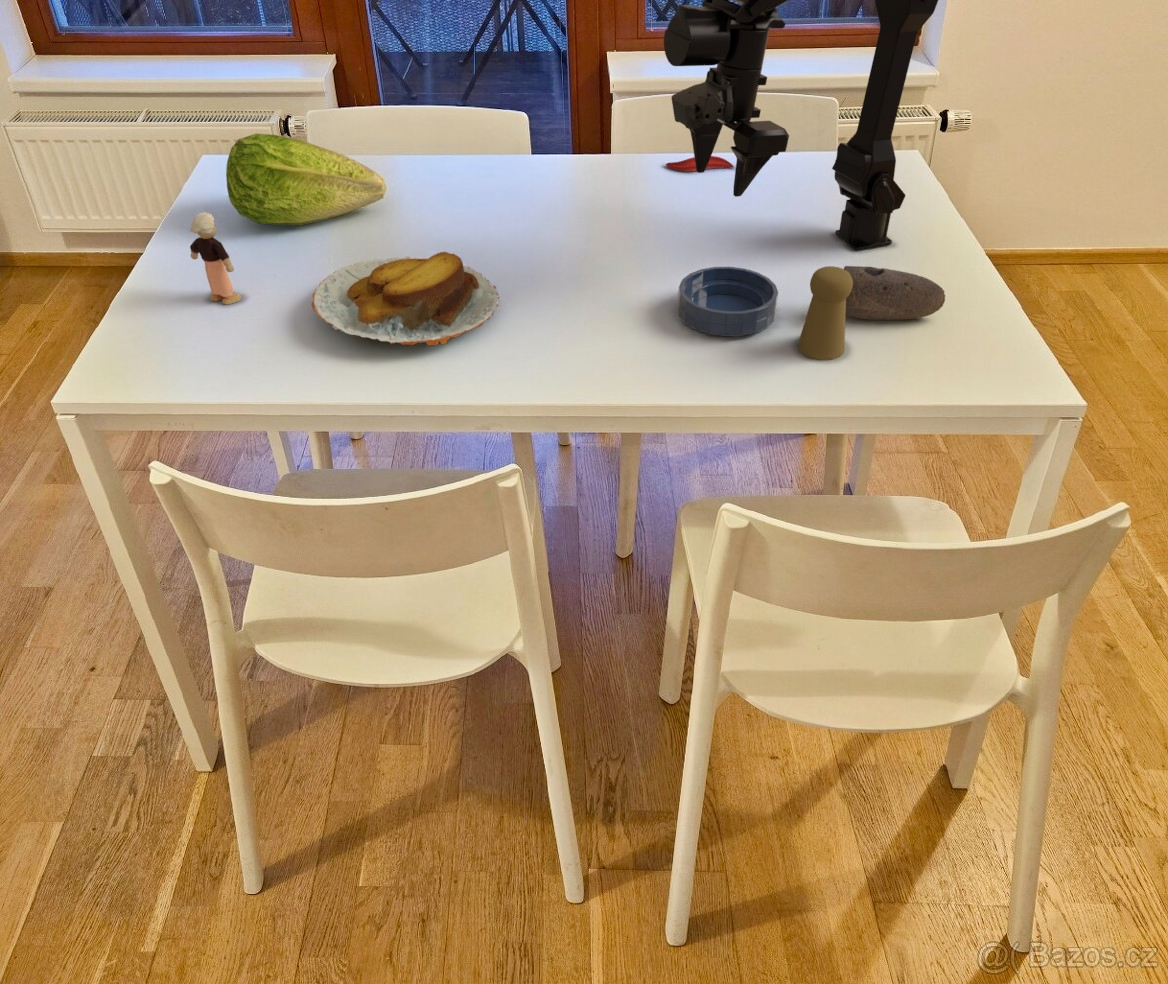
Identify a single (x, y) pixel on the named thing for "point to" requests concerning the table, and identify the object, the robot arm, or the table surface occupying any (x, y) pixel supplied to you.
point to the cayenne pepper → (691, 166)
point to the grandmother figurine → (213, 259)
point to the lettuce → (296, 181)
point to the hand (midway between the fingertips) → (718, 183)
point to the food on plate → (406, 299)
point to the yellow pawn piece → (826, 314)
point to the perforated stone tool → (891, 294)
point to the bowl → (727, 301)
